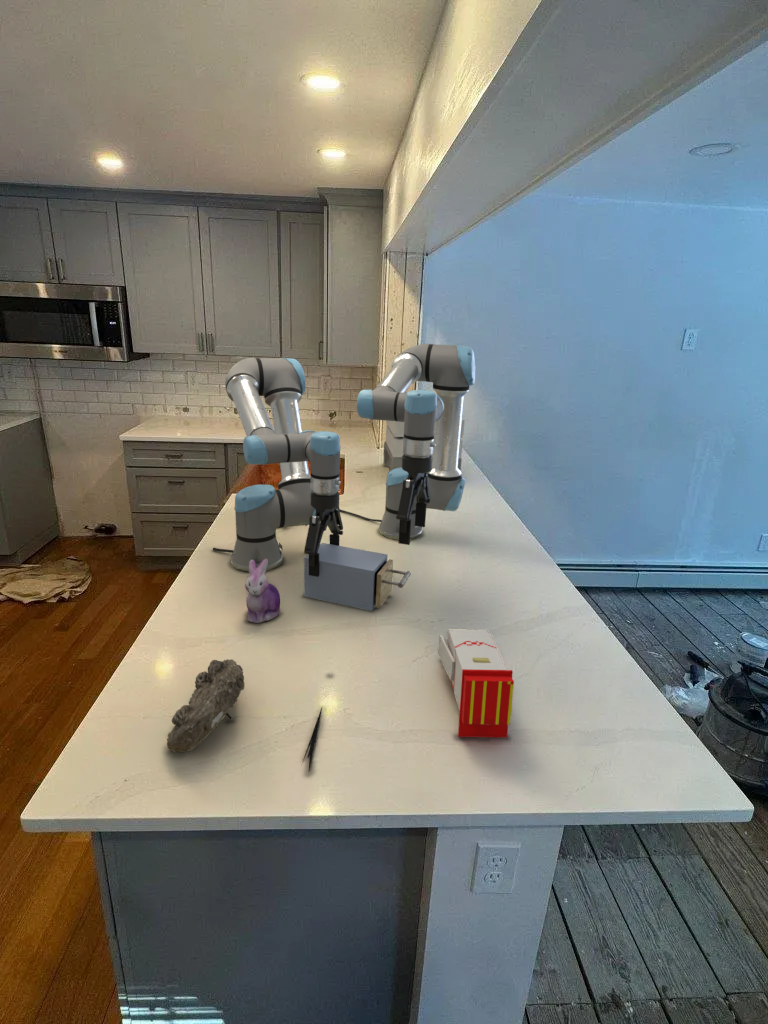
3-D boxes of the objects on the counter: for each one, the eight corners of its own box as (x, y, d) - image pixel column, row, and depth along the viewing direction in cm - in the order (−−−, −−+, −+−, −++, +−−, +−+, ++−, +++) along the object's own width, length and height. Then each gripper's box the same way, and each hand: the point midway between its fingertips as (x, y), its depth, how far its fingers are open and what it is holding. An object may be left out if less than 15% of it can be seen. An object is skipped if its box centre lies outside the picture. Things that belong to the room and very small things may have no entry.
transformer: (382, 463, 289) (386, 382, 275) (445, 464, 293) (451, 384, 279) (390, 482, 257) (394, 392, 243) (460, 483, 261) (468, 394, 247)
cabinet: (385, 592, 159) (387, 554, 155) (372, 610, 148) (373, 571, 145) (321, 579, 164) (321, 542, 160) (304, 596, 154) (304, 557, 150)
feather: (331, 679, 122) (336, 673, 122) (307, 777, 96) (313, 769, 95) (324, 675, 122) (329, 669, 121) (298, 772, 95) (304, 764, 95)
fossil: (192, 660, 117) (244, 628, 112) (224, 691, 120) (276, 661, 115) (142, 746, 98) (202, 712, 93) (182, 779, 101) (242, 748, 96)
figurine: (250, 628, 138) (248, 572, 133) (239, 608, 146) (237, 555, 141) (287, 620, 142) (286, 565, 137) (275, 601, 150) (274, 550, 145)
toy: (488, 613, 130) (523, 677, 101) (484, 667, 133) (517, 744, 104) (435, 612, 130) (455, 676, 101) (432, 666, 133) (451, 743, 103)
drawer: (410, 594, 156) (413, 563, 152) (399, 612, 146) (401, 579, 143) (331, 579, 162) (331, 548, 159) (315, 594, 153) (316, 562, 150)
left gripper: (317, 507, 136) (317, 587, 143) (355, 481, 158) (353, 551, 166) (289, 503, 138) (291, 581, 146) (331, 477, 161) (330, 546, 168)
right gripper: (417, 468, 128) (411, 554, 135) (444, 446, 150) (438, 521, 157) (386, 464, 130) (382, 549, 137) (417, 443, 152) (412, 517, 159)
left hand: (324, 565), depth 156 cm, fingers open, 13 cm apart
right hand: (412, 534), depth 147 cm, fingers open, 13 cm apart
